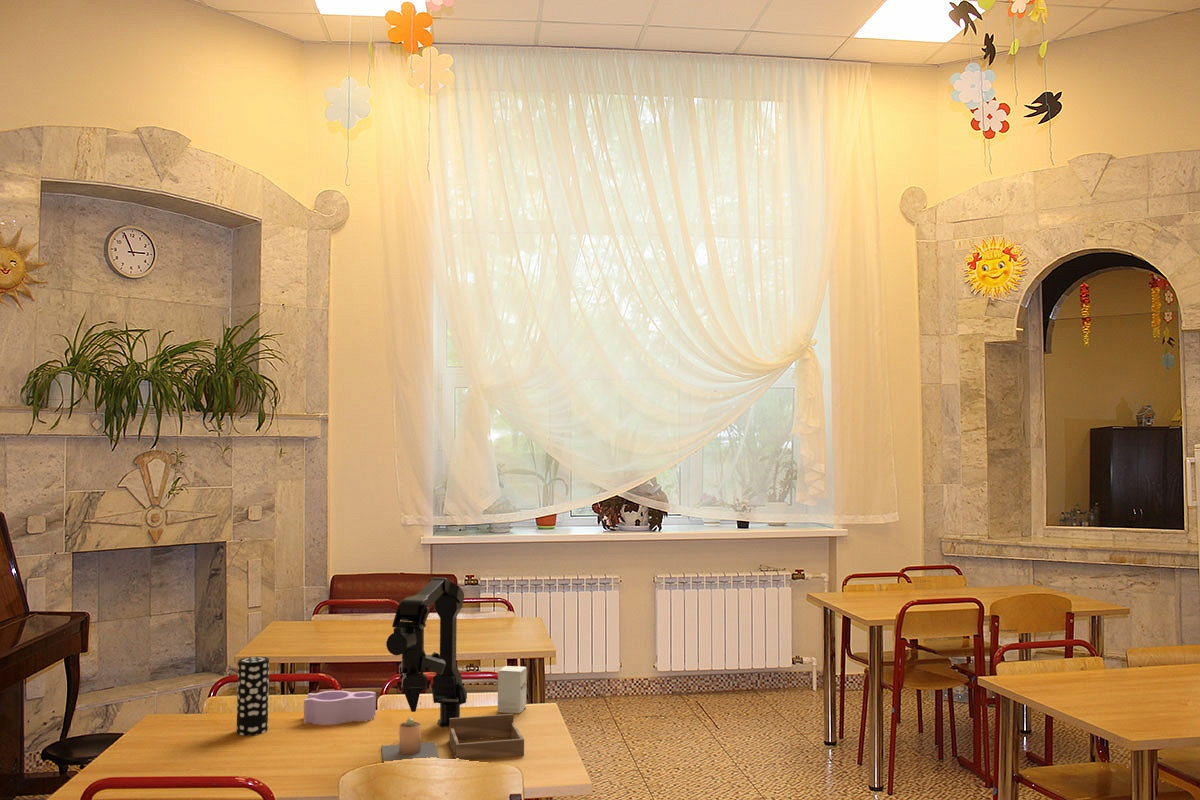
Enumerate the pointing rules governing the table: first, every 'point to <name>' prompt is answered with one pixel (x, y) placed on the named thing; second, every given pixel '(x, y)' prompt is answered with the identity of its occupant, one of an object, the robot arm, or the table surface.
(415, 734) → the terracotta pot
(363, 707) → the lavender two-hole holder
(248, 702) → the white-spotted black cylinder
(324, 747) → the table surface
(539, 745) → the table surface
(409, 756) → the mat
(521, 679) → the supplement box
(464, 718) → the frame
